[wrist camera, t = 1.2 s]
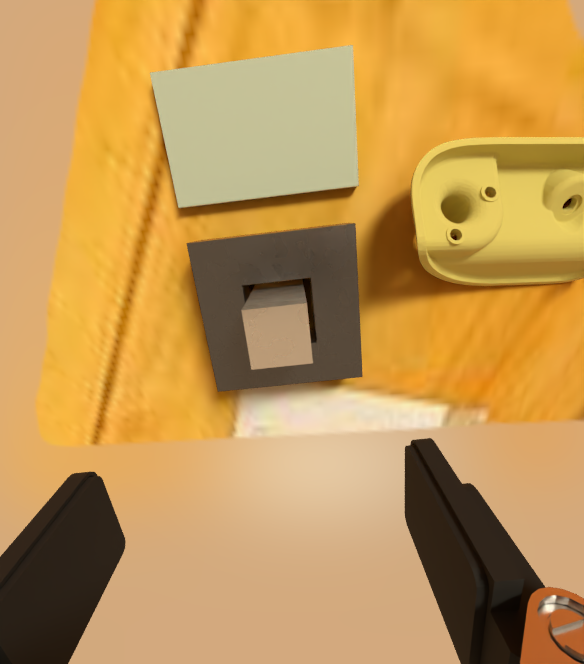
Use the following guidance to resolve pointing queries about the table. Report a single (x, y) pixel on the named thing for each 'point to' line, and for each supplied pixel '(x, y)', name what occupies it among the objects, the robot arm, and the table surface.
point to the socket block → (271, 266)
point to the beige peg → (277, 325)
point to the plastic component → (501, 210)
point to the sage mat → (260, 126)
